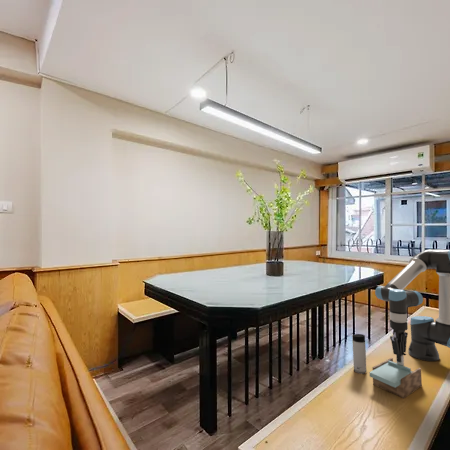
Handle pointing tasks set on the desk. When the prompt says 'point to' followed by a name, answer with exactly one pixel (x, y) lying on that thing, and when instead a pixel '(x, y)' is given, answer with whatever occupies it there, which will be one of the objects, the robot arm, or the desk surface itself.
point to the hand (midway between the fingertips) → (400, 367)
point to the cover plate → (390, 373)
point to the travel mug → (359, 353)
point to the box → (407, 382)
